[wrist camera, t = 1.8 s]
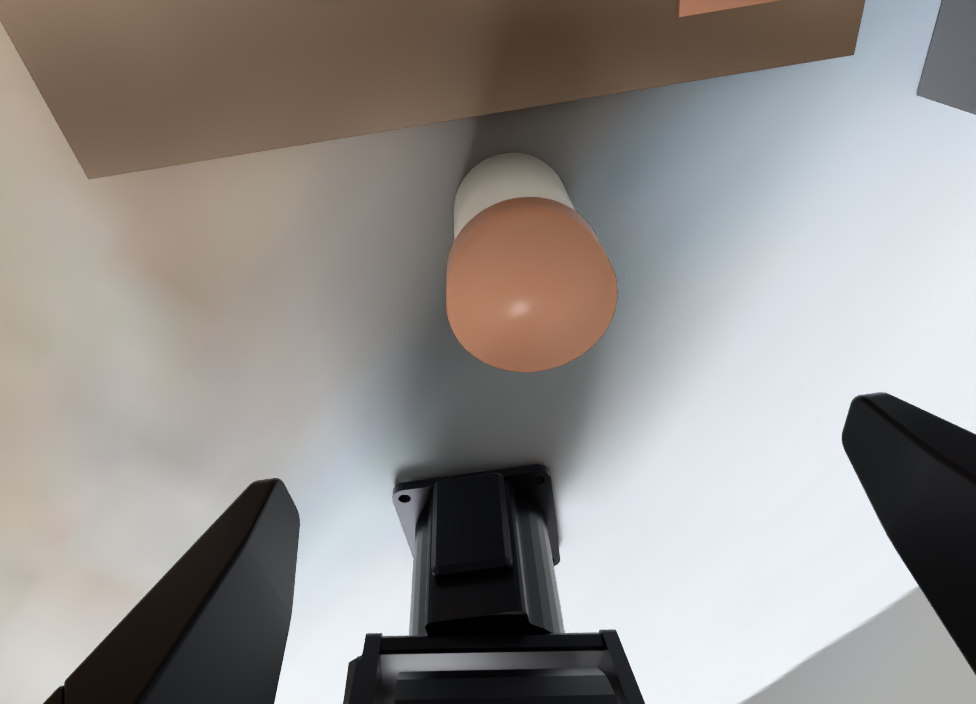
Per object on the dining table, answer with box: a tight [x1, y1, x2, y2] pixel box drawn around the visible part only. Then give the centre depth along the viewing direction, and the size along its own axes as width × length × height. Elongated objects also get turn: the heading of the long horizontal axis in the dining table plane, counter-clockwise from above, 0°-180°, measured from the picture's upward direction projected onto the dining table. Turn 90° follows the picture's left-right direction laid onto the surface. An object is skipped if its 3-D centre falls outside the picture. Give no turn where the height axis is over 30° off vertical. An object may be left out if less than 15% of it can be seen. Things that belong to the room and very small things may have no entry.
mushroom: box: [446, 153, 618, 372], centre depth 15 cm, size 4×4×6 cm
